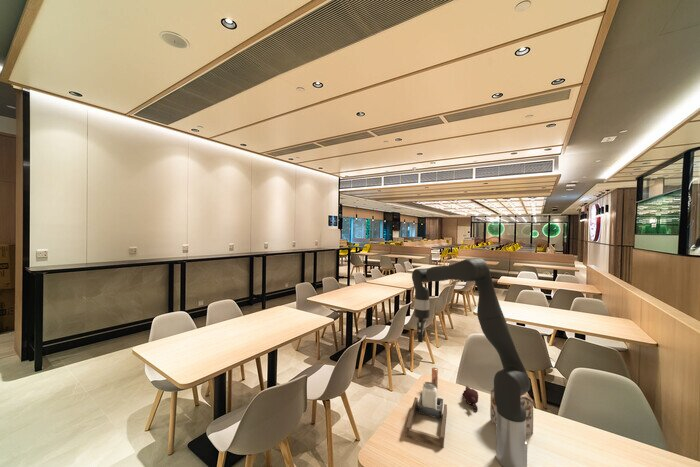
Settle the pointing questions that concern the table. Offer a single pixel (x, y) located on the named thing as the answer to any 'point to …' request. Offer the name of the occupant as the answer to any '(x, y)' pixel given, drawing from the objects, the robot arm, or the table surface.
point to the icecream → (471, 397)
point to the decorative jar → (525, 402)
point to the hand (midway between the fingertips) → (421, 339)
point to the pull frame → (436, 412)
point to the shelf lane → (421, 435)
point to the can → (429, 395)
